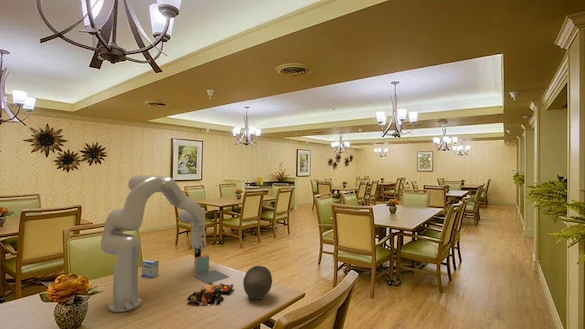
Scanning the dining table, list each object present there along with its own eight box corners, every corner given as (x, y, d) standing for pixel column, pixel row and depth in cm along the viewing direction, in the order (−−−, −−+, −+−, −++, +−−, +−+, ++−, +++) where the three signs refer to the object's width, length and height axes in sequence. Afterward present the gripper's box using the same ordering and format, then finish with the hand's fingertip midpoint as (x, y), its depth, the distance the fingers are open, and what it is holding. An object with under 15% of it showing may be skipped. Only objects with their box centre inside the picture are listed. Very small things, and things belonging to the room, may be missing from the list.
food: (219, 309, 129) (219, 301, 129) (180, 306, 132) (180, 298, 132) (237, 288, 150) (237, 281, 150) (203, 286, 154) (203, 279, 154)
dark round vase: (236, 299, 137) (236, 267, 137) (256, 289, 148) (257, 260, 149) (258, 308, 129) (259, 274, 129) (278, 297, 140) (279, 265, 140)
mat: (229, 276, 165) (229, 276, 165) (207, 283, 155) (207, 283, 155) (214, 270, 175) (214, 269, 175) (193, 276, 165) (193, 275, 165)
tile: (209, 270, 174) (209, 255, 174) (196, 274, 168) (196, 258, 168) (206, 269, 176) (206, 254, 176) (194, 273, 170) (194, 257, 170)
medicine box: (141, 276, 163) (141, 261, 163) (147, 274, 168) (147, 259, 168) (152, 278, 161) (152, 262, 161) (158, 275, 165) (158, 260, 165)
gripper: (210, 229, 173) (209, 260, 173) (197, 225, 183) (197, 254, 183) (198, 231, 168) (198, 263, 168) (186, 227, 178) (185, 257, 178)
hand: (197, 258), depth 175 cm, fingers closed
